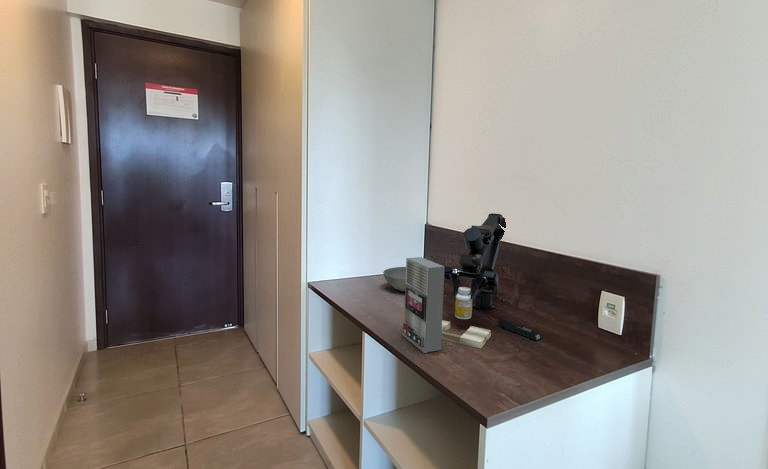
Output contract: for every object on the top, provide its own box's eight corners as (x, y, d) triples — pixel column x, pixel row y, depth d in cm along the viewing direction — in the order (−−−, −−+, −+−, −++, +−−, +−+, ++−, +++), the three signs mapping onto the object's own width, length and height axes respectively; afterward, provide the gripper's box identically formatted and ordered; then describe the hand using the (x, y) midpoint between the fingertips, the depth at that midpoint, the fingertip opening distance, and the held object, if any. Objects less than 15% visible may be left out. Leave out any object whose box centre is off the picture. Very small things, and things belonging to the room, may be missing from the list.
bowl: (432, 297, 171) (433, 278, 169) (382, 295, 171) (382, 277, 170) (428, 283, 192) (428, 266, 190) (383, 282, 192) (383, 265, 191)
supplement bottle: (457, 312, 140) (458, 285, 139) (472, 315, 138) (474, 287, 136) (452, 317, 135) (454, 289, 134) (469, 320, 133) (470, 291, 132)
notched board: (440, 325, 139) (440, 319, 139) (490, 336, 131) (491, 330, 130) (427, 336, 129) (427, 330, 129) (480, 348, 121) (481, 342, 121)
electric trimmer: (502, 325, 142) (502, 316, 141) (542, 340, 129) (543, 330, 129) (495, 327, 140) (495, 318, 139) (535, 342, 127) (535, 333, 127)
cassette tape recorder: (401, 336, 129) (403, 258, 125) (418, 333, 132) (421, 257, 128) (423, 354, 117) (426, 268, 113) (441, 350, 119) (445, 266, 115)
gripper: (444, 241, 141) (430, 280, 133) (498, 247, 132) (487, 289, 124) (451, 260, 149) (438, 297, 141) (503, 266, 140) (492, 307, 132)
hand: (462, 297), depth 134 cm, fingers closed on supplement bottle, 5 cm apart
